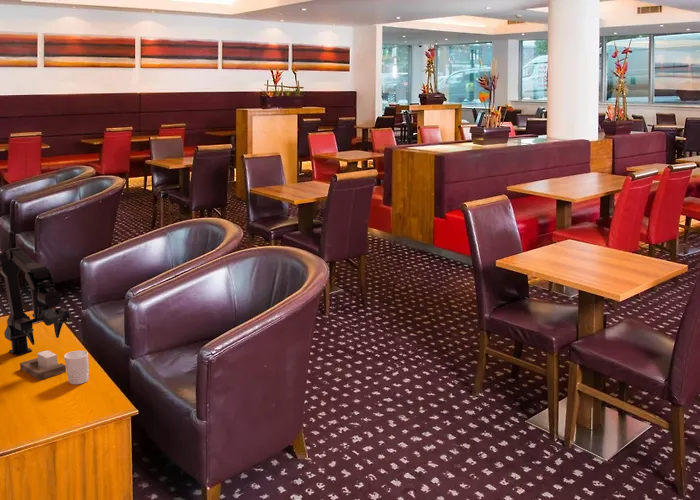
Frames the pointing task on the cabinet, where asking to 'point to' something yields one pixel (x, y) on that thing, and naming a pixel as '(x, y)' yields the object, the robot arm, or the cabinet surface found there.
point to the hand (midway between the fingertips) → (45, 341)
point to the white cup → (77, 366)
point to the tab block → (46, 359)
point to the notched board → (41, 374)
